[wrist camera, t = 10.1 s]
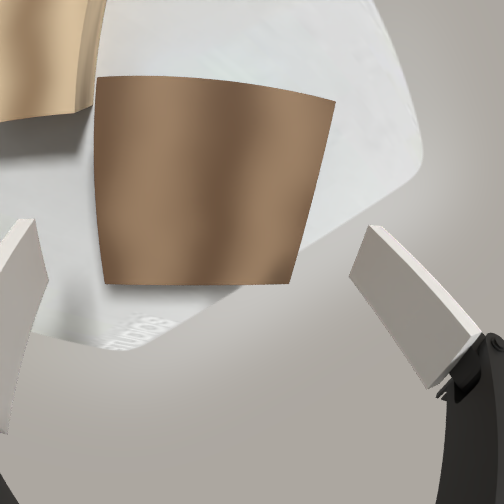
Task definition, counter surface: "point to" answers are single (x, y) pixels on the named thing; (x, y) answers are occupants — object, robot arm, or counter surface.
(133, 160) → the lid
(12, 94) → the tan wooden block
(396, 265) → the robot arm
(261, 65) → the counter surface
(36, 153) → the counter surface
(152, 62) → the counter surface
